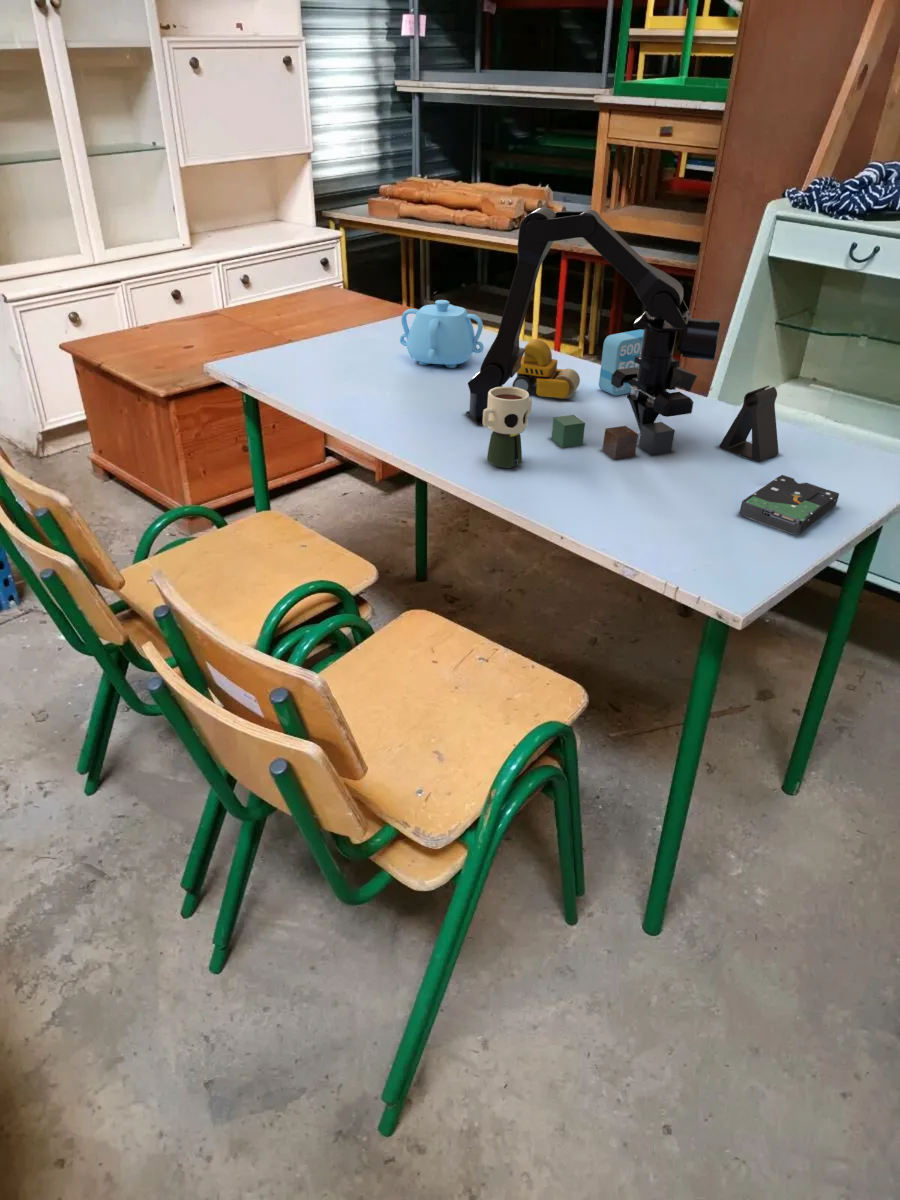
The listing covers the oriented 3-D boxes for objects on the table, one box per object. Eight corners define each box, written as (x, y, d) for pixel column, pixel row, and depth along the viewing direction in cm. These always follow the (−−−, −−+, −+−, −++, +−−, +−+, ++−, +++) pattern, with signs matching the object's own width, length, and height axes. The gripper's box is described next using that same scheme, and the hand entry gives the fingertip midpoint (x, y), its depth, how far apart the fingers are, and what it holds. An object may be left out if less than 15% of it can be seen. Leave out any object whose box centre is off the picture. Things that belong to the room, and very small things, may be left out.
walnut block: (614, 459, 159) (617, 437, 157) (602, 450, 163) (605, 428, 160) (635, 456, 161) (638, 434, 158) (622, 447, 164) (625, 425, 162)
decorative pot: (458, 347, 214) (459, 289, 207) (487, 366, 202) (490, 306, 195) (396, 354, 208) (395, 295, 201) (423, 374, 196) (423, 313, 189)
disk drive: (776, 488, 151) (737, 515, 142) (780, 473, 150) (741, 500, 140) (835, 508, 145) (799, 537, 136) (840, 492, 144) (803, 521, 134)
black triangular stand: (778, 455, 163) (793, 393, 156) (759, 463, 160) (774, 399, 153) (737, 440, 169) (750, 379, 162) (718, 447, 165) (731, 385, 159)
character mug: (494, 477, 151) (498, 405, 144) (468, 463, 156) (471, 393, 149) (540, 462, 157) (546, 393, 150) (513, 449, 162) (518, 381, 155)
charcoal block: (651, 455, 161) (654, 433, 159) (638, 446, 165) (641, 424, 162) (671, 452, 163) (675, 430, 160) (657, 443, 166) (661, 421, 164)
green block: (562, 447, 163) (564, 425, 161) (551, 439, 167) (553, 417, 164) (582, 444, 165) (585, 422, 162) (571, 436, 168) (573, 414, 166)
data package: (611, 397, 187) (618, 341, 180) (597, 391, 190) (604, 335, 184) (652, 388, 193) (660, 333, 186) (637, 382, 196) (645, 328, 189)
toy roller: (571, 403, 183) (577, 353, 177) (505, 394, 187) (508, 345, 181) (580, 390, 190) (585, 342, 184) (516, 381, 194) (519, 334, 188)
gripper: (725, 364, 153) (709, 447, 162) (664, 334, 167) (652, 412, 176) (672, 371, 149) (658, 455, 158) (614, 340, 164) (604, 419, 172)
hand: (644, 434), depth 166 cm, fingers closed
